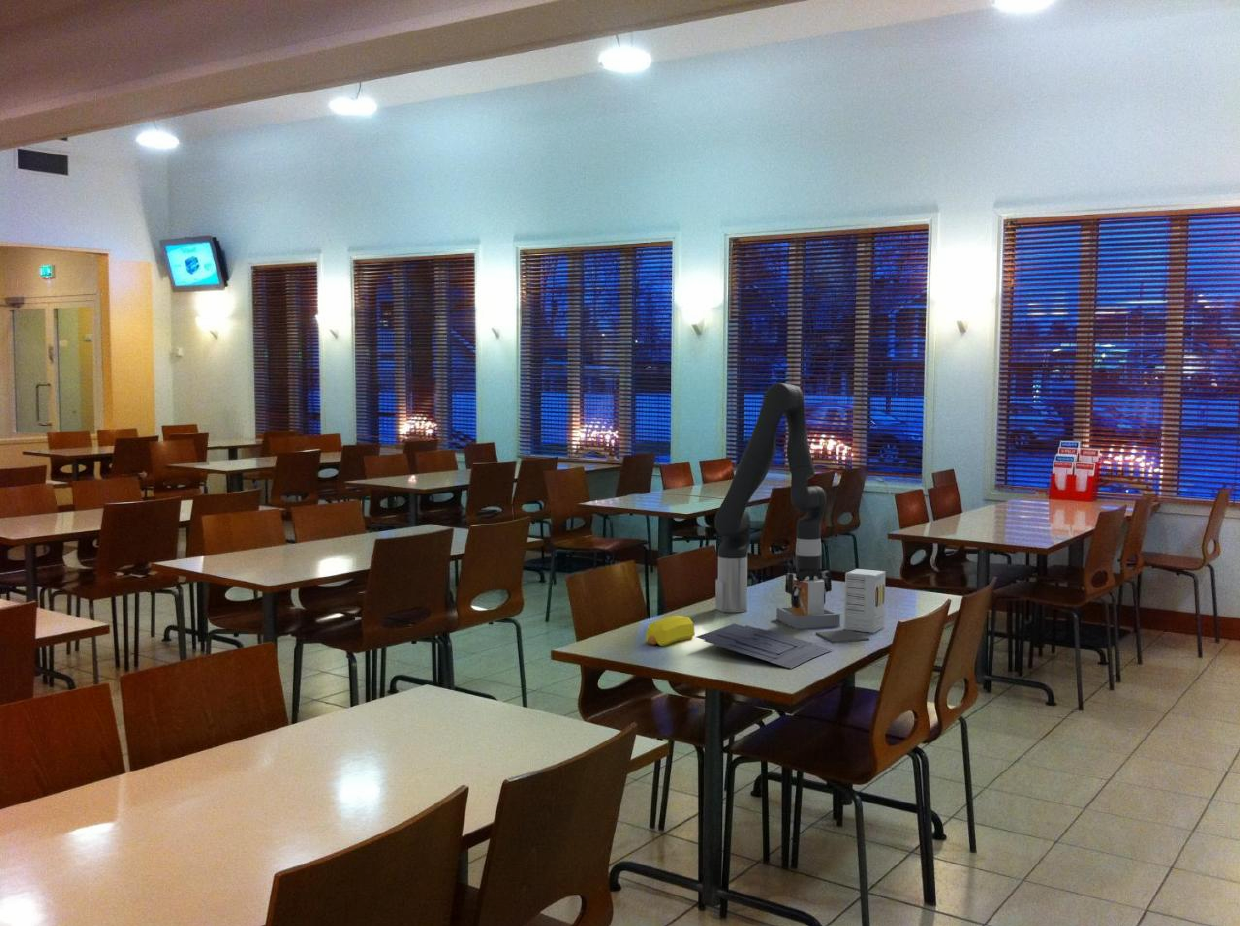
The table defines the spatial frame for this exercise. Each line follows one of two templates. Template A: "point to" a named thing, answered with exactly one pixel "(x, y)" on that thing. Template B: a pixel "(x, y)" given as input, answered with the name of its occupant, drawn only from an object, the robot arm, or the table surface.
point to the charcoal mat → (842, 636)
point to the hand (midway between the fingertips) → (808, 606)
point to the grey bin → (807, 619)
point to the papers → (764, 644)
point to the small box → (809, 598)
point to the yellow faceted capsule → (670, 630)
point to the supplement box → (864, 600)
